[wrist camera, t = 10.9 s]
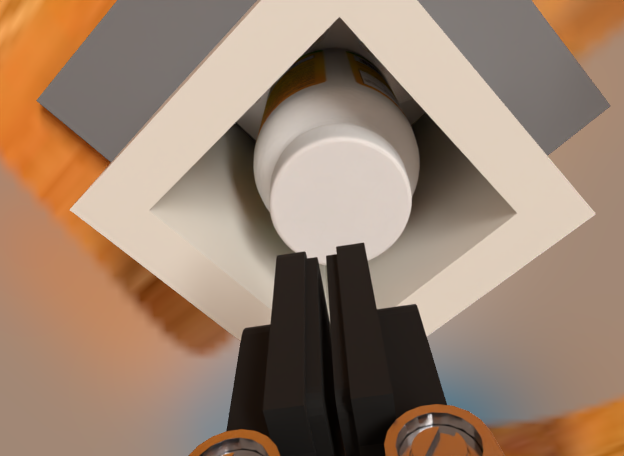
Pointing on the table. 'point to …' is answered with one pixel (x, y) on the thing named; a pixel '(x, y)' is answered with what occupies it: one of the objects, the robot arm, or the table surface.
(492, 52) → the mat
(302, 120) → the supplement bottle
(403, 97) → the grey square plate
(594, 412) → the table surface
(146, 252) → the sleeve
